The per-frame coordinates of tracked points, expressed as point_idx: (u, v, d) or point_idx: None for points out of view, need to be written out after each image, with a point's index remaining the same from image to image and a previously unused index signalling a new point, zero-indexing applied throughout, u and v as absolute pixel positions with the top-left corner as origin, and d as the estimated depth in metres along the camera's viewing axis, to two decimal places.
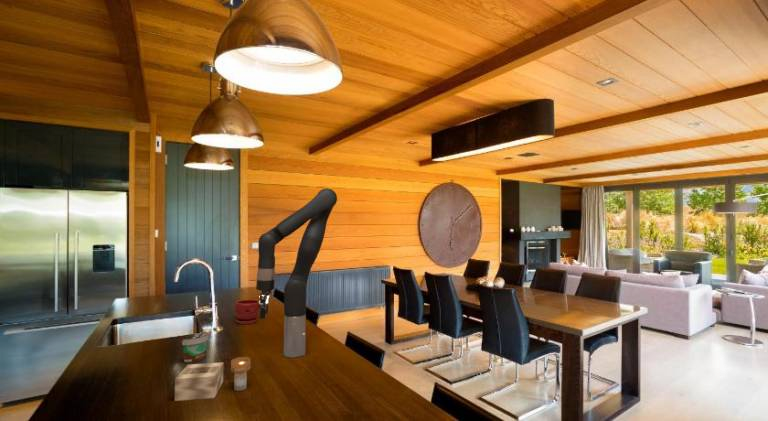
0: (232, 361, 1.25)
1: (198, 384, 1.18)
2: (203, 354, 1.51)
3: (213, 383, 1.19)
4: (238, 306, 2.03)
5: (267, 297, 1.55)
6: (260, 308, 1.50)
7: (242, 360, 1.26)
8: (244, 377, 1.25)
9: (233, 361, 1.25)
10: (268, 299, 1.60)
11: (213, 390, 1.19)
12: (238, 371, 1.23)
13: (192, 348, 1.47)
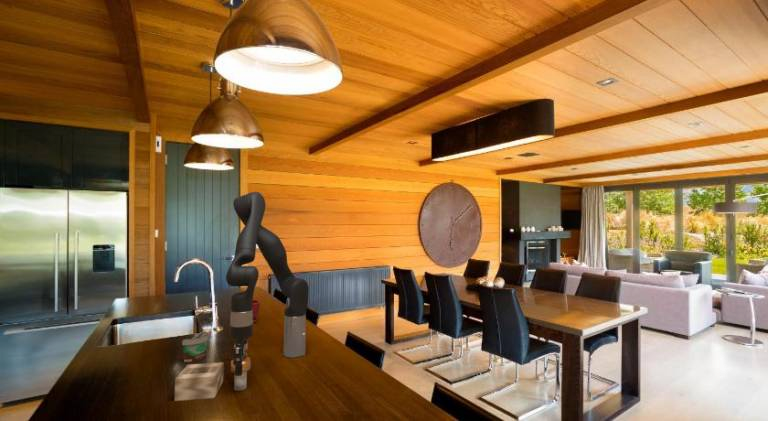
0: (232, 361, 1.25)
1: (198, 384, 1.18)
2: (203, 354, 1.51)
3: (213, 383, 1.19)
4: None
5: (244, 347, 1.25)
6: (235, 364, 1.20)
7: None
8: (244, 377, 1.25)
9: None
10: (246, 348, 1.29)
11: (213, 390, 1.19)
12: None
13: (192, 347, 1.47)
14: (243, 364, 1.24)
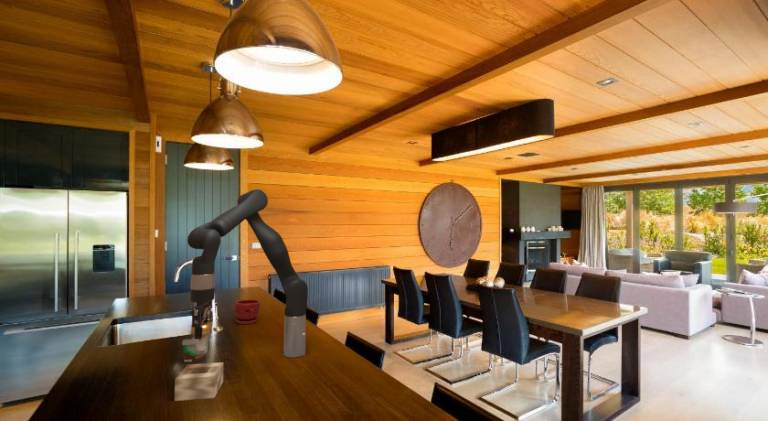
0: None
1: (198, 384, 1.18)
2: (203, 354, 1.51)
3: (213, 383, 1.19)
4: (238, 306, 2.03)
5: (204, 311, 1.23)
6: (193, 326, 1.18)
7: (203, 324, 1.24)
8: (205, 341, 1.24)
9: None
10: (207, 313, 1.27)
11: (213, 390, 1.19)
12: None
13: (192, 348, 1.47)
14: (203, 327, 1.22)
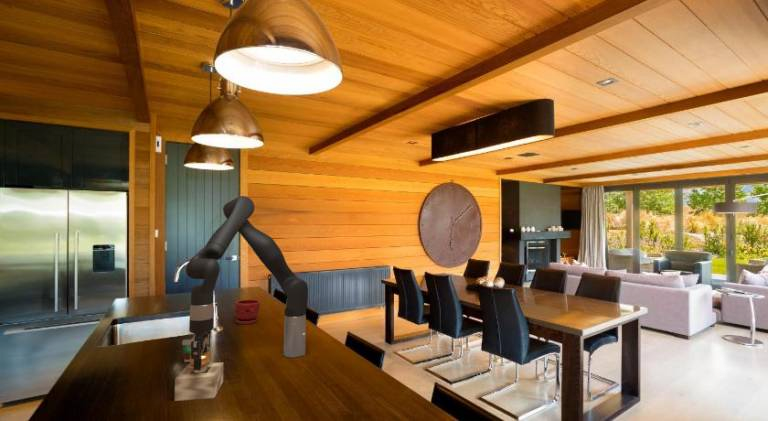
0: None
1: (198, 384, 1.18)
2: None
3: (213, 383, 1.19)
4: (238, 306, 2.03)
5: (203, 341, 1.22)
6: (192, 358, 1.18)
7: (202, 354, 1.24)
8: (204, 372, 1.23)
9: None
10: (206, 343, 1.26)
11: (213, 390, 1.19)
12: None
13: None
14: (202, 358, 1.22)
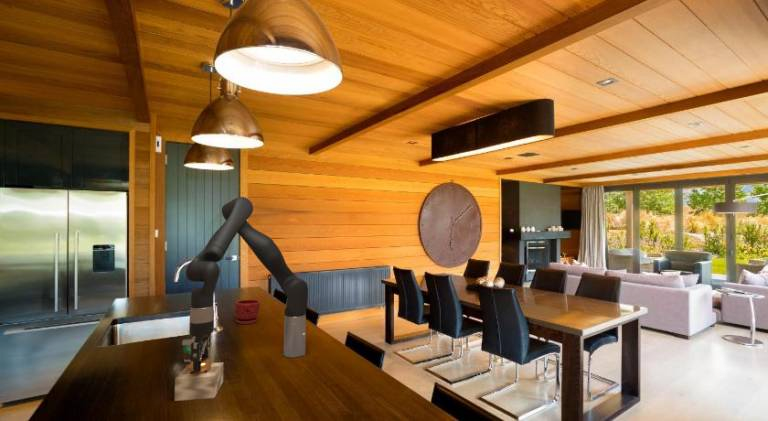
0: (192, 362, 1.23)
1: (198, 384, 1.18)
2: None
3: (213, 383, 1.19)
4: (238, 306, 2.03)
5: (203, 344, 1.22)
6: (192, 360, 1.17)
7: (202, 361, 1.24)
8: None
9: None
10: (207, 345, 1.27)
11: (213, 390, 1.19)
12: (197, 373, 1.21)
13: None
14: (202, 365, 1.21)
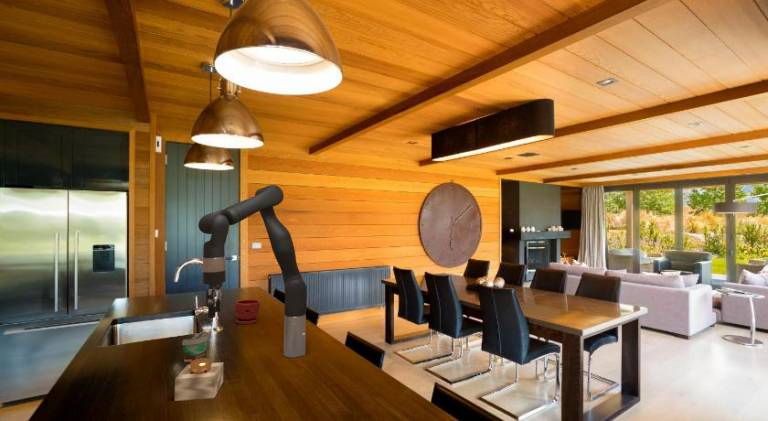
0: (192, 362, 1.23)
1: (198, 384, 1.18)
2: (203, 354, 1.51)
3: (213, 383, 1.19)
4: (238, 306, 2.03)
5: (217, 292, 1.29)
6: (207, 305, 1.23)
7: (202, 361, 1.24)
8: None
9: (193, 362, 1.23)
10: (219, 294, 1.33)
11: (213, 390, 1.19)
12: (197, 373, 1.21)
13: (192, 347, 1.47)
14: (202, 365, 1.21)
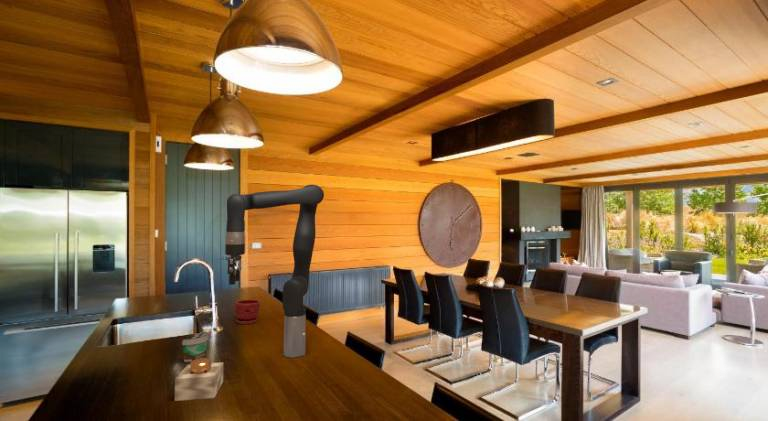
0: (192, 362, 1.23)
1: (198, 384, 1.18)
2: (203, 354, 1.51)
3: (213, 383, 1.19)
4: (238, 306, 2.03)
5: (237, 262, 1.46)
6: (229, 273, 1.41)
7: (202, 361, 1.24)
8: None
9: (193, 362, 1.23)
10: (239, 265, 1.50)
11: (213, 390, 1.19)
12: (197, 373, 1.21)
13: (192, 348, 1.47)
14: (202, 365, 1.21)
